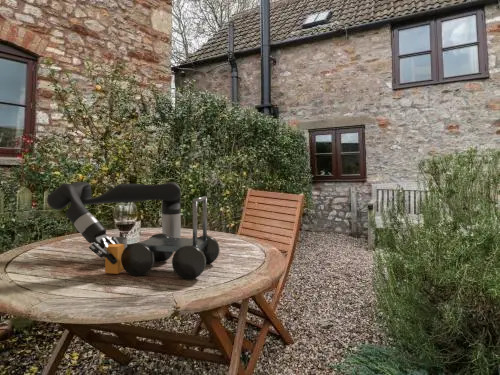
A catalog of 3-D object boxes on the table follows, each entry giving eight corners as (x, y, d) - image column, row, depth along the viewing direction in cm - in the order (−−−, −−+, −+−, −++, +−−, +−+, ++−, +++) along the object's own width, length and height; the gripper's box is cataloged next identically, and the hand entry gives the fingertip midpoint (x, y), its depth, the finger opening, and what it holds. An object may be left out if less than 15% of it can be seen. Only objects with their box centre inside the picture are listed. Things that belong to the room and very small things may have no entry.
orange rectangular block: (105, 272, 120) (105, 246, 119) (112, 269, 124) (112, 243, 124) (117, 273, 119) (117, 246, 119) (124, 270, 124) (124, 244, 123)
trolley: (121, 275, 120) (120, 197, 119) (148, 259, 141) (148, 194, 140) (204, 280, 115) (204, 199, 113) (219, 264, 136) (219, 195, 134)
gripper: (95, 231, 130) (123, 262, 129) (70, 238, 116) (101, 273, 115) (107, 218, 129) (136, 249, 128) (83, 224, 115) (115, 259, 114)
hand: (119, 260), depth 121 cm, fingers open, 4 cm apart
